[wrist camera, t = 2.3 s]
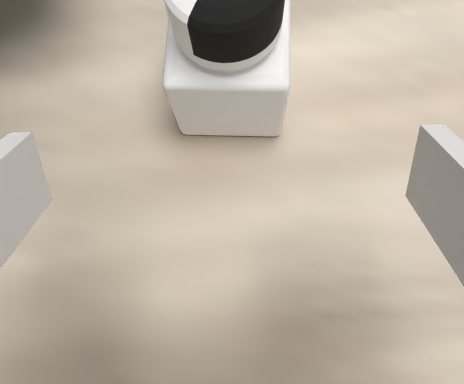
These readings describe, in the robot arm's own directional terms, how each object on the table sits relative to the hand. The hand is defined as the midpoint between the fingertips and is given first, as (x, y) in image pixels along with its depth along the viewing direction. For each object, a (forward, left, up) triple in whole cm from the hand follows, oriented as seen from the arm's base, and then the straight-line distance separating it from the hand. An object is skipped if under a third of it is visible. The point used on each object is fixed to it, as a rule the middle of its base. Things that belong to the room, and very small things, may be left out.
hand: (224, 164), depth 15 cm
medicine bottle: (-3, +10, -14) cm, 18 cm away
